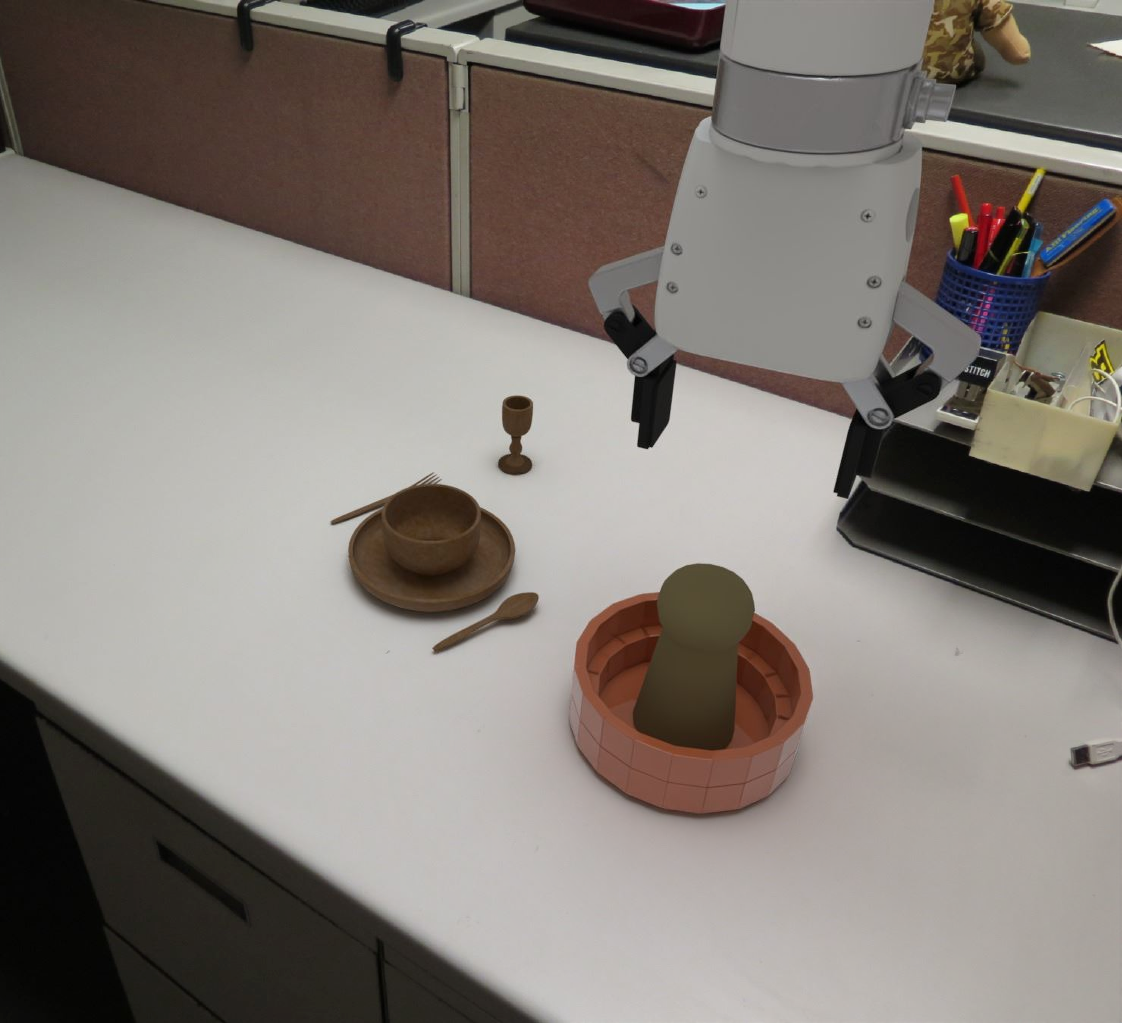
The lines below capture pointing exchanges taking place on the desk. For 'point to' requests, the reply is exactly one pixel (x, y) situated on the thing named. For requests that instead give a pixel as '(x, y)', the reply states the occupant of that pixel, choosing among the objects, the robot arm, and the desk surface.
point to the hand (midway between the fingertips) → (746, 458)
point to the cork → (695, 658)
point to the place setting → (442, 542)
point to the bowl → (672, 771)
